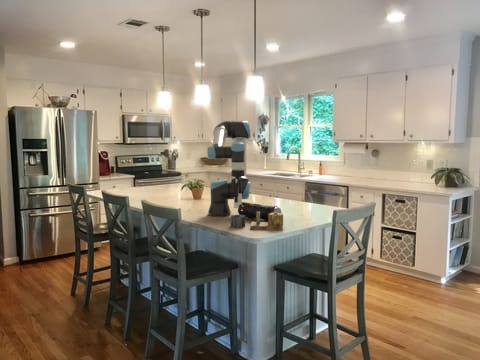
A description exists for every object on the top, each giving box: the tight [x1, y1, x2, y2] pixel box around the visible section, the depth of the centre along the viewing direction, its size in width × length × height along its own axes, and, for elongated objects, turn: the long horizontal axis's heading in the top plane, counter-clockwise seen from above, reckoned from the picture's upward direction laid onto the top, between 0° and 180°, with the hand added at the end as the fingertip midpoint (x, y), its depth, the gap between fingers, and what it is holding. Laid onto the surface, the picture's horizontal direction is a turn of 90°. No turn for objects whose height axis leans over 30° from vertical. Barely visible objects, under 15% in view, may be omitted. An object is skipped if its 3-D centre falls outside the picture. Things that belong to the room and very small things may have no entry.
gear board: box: [250, 212, 284, 231], centre depth 225 cm, size 18×11×9 cm, turn 83°
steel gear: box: [230, 214, 246, 228], centre depth 229 cm, size 8×8×6 cm
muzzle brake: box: [237, 201, 282, 222], centre depth 246 cm, size 10×28×10 cm, turn 51°
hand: (237, 206), depth 228 cm, fingers open, 13 cm apart
